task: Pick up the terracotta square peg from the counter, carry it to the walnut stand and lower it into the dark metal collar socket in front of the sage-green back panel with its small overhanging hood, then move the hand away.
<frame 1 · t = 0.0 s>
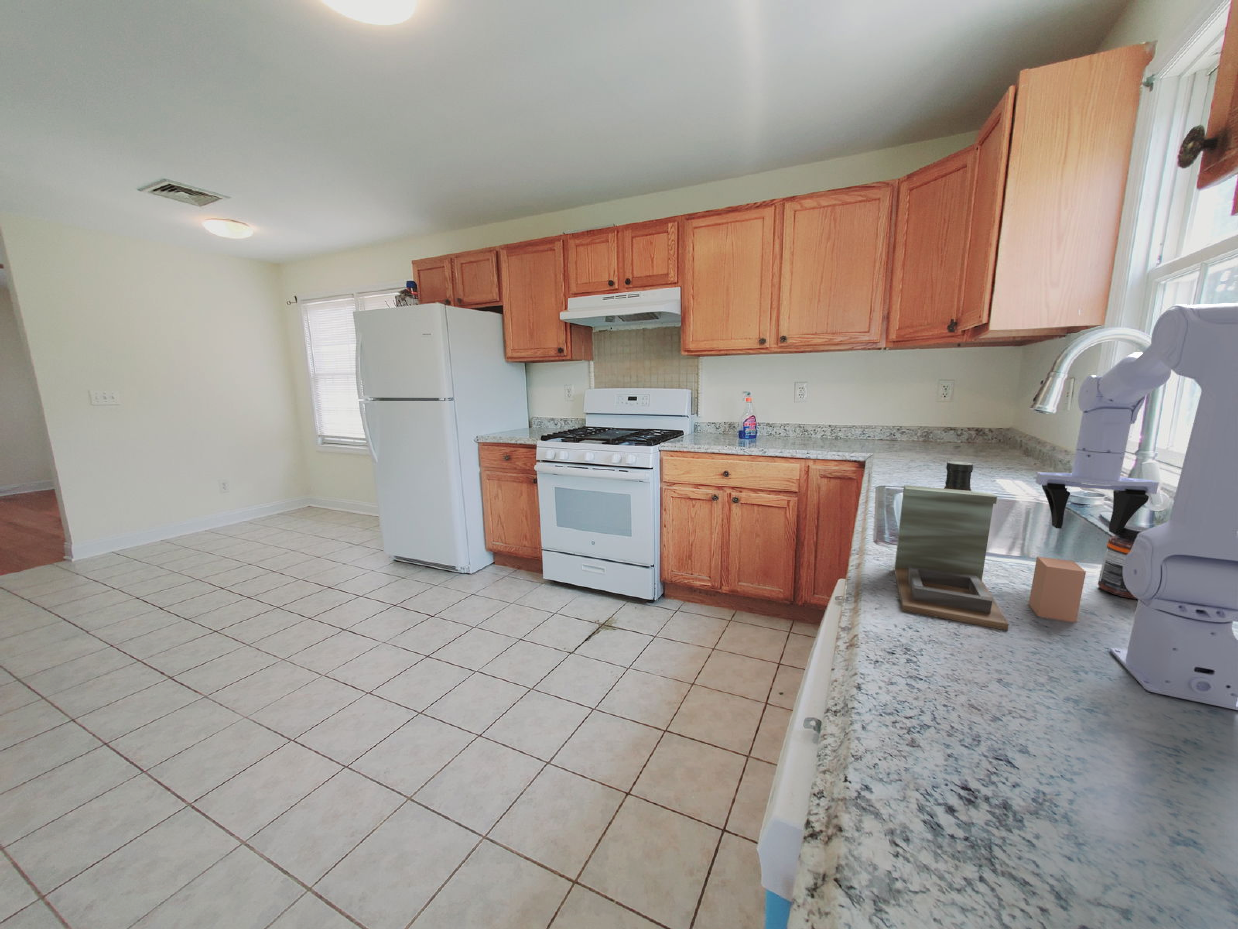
hand: (1084, 530, 81), 10 cm above the countertop, tool pointing down, fingers open, 7 cm apart
socket stand: (944, 599, 77), on the countertop
supplement bottle: (1120, 593, 80), on the countertop, touching gripper
peg: (1051, 613, 73), on the countertop
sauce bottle: (947, 565, 92), on the countertop
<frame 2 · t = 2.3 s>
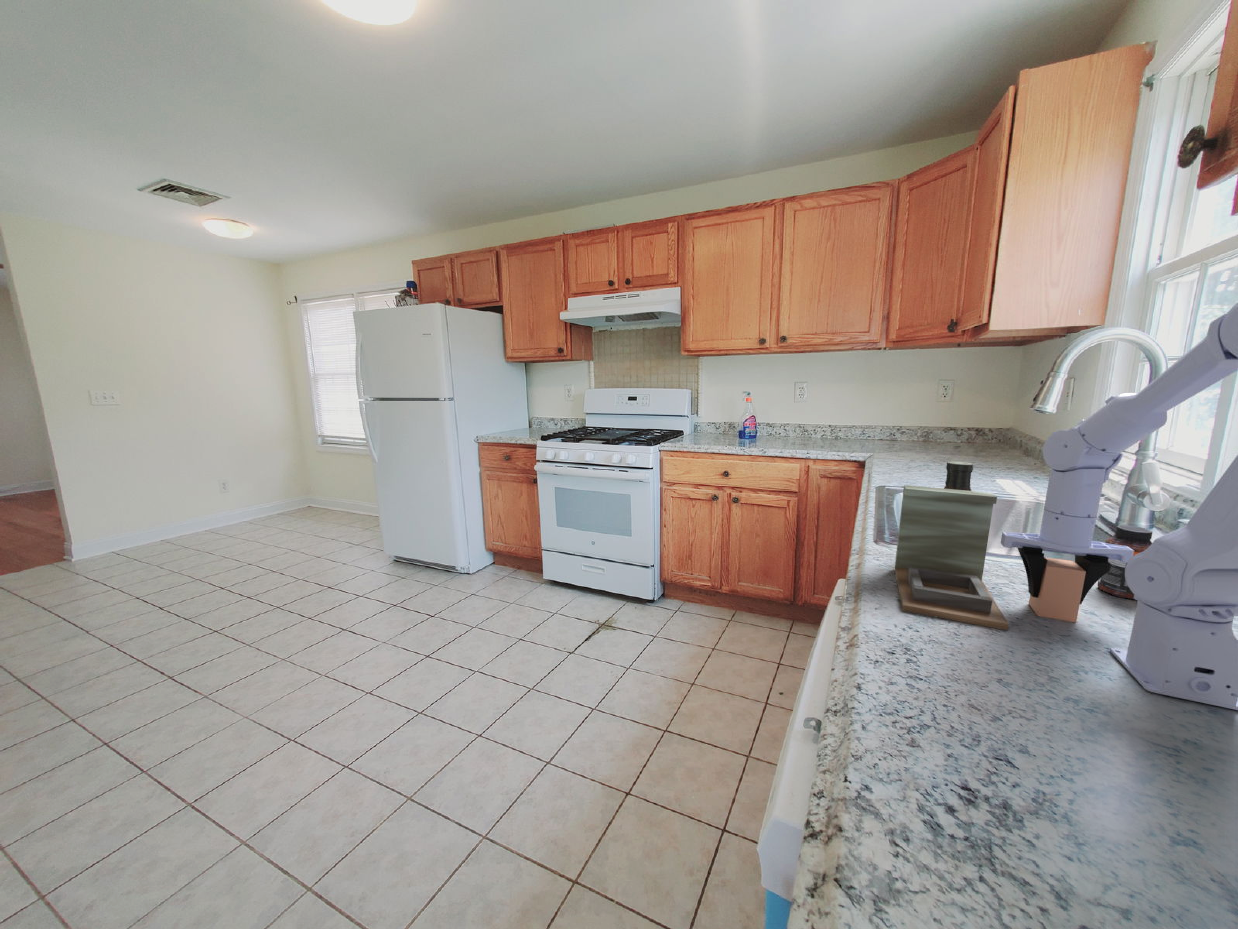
hand: (1054, 598, 73), 2 cm above the countertop, tool pointing down, fingers closed on peg, 4 cm apart
supplement bottle: (1120, 594, 80), on the countertop
peg: (1051, 612, 73), on the countertop, touching gripper
everything else where it was.
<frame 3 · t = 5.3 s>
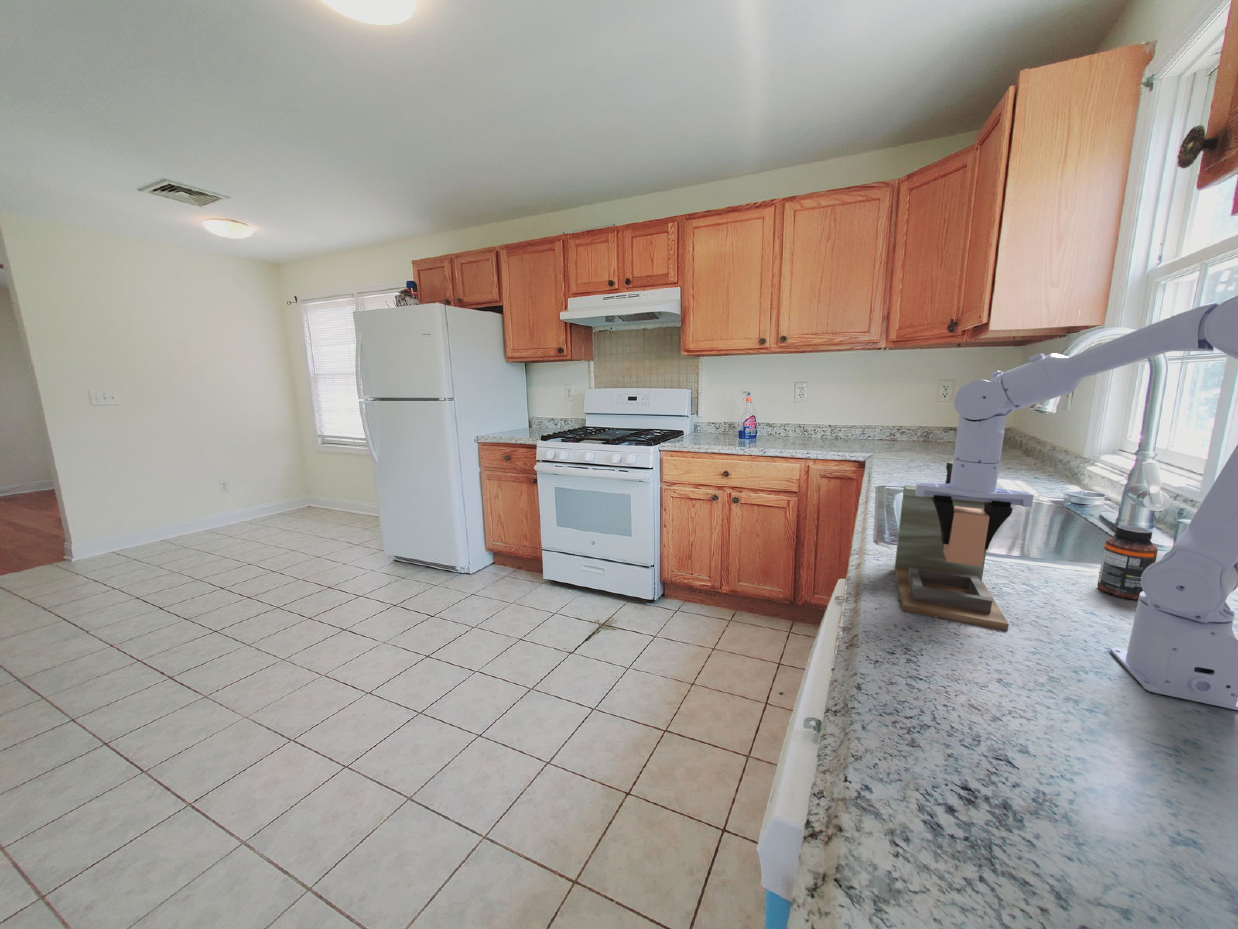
hand: (963, 545, 75), 9 cm above the countertop, tool pointing down, fingers closed on peg, 4 cm apart
peg: (961, 559, 76), point 7 cm above the countertop, touching gripper
everything else where it was.
when the fingers open (4 cm above the countertop, at t = 8.5 s): peg stays where it is, resting on socket stand.
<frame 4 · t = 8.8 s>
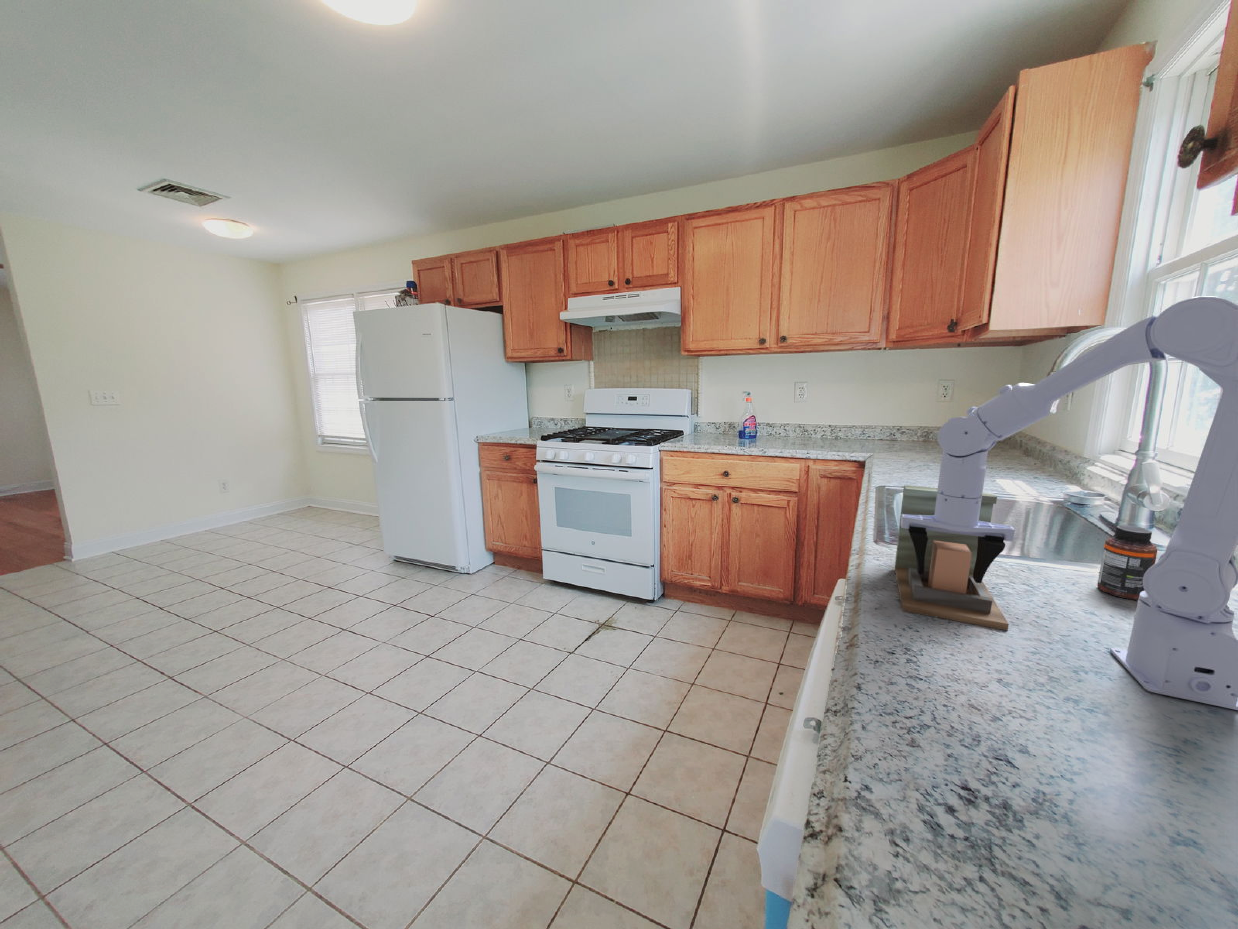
hand: (947, 576, 77), 4 cm above the countertop, tool pointing down, fingers open, 7 cm apart
peg: (945, 593, 77), point 1 cm above the countertop, touching socket stand
everything else where it was.
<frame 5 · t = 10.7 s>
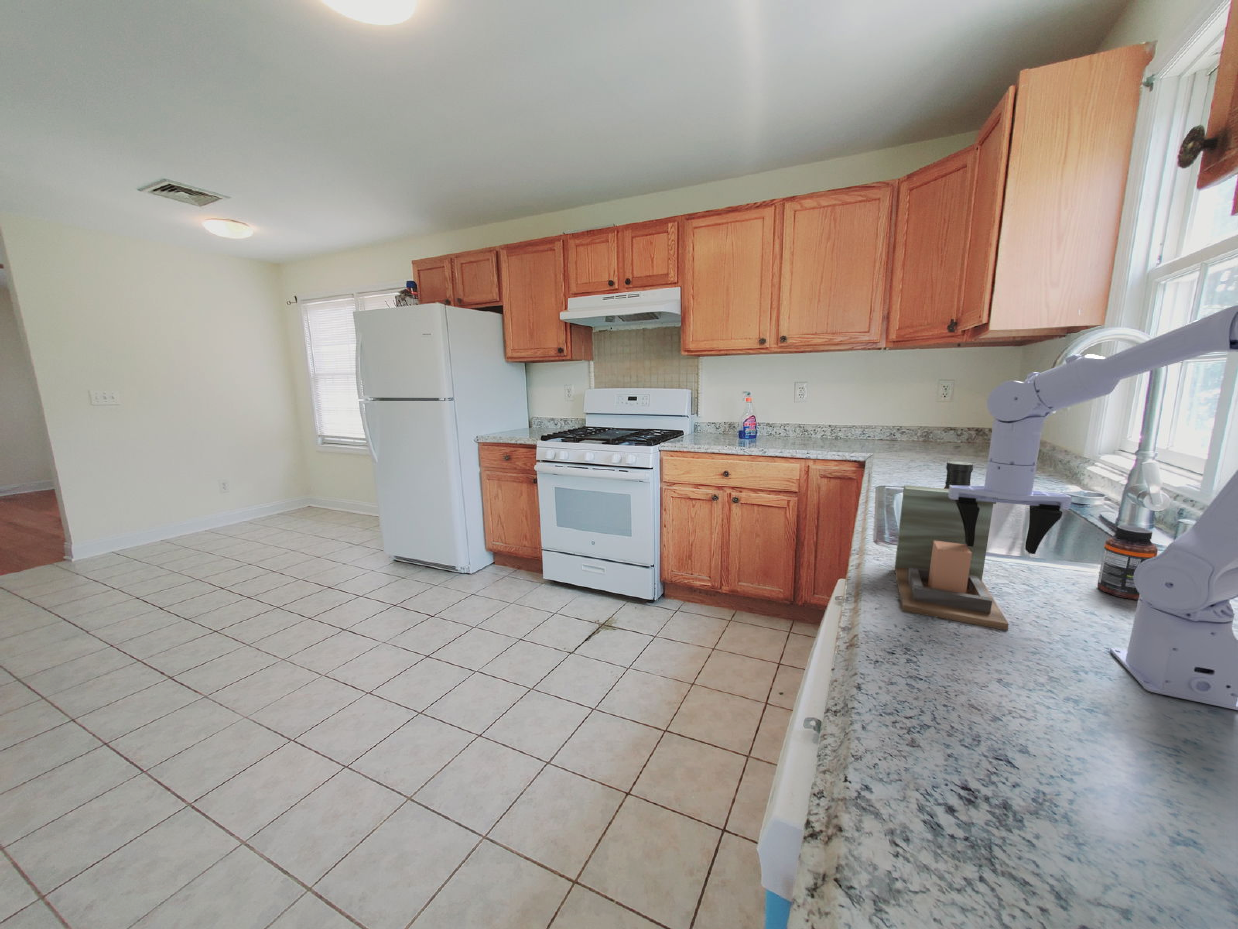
hand: (998, 548, 74), 9 cm above the countertop, tool pointing down, fingers open, 7 cm apart
nothing on the countertop moved.
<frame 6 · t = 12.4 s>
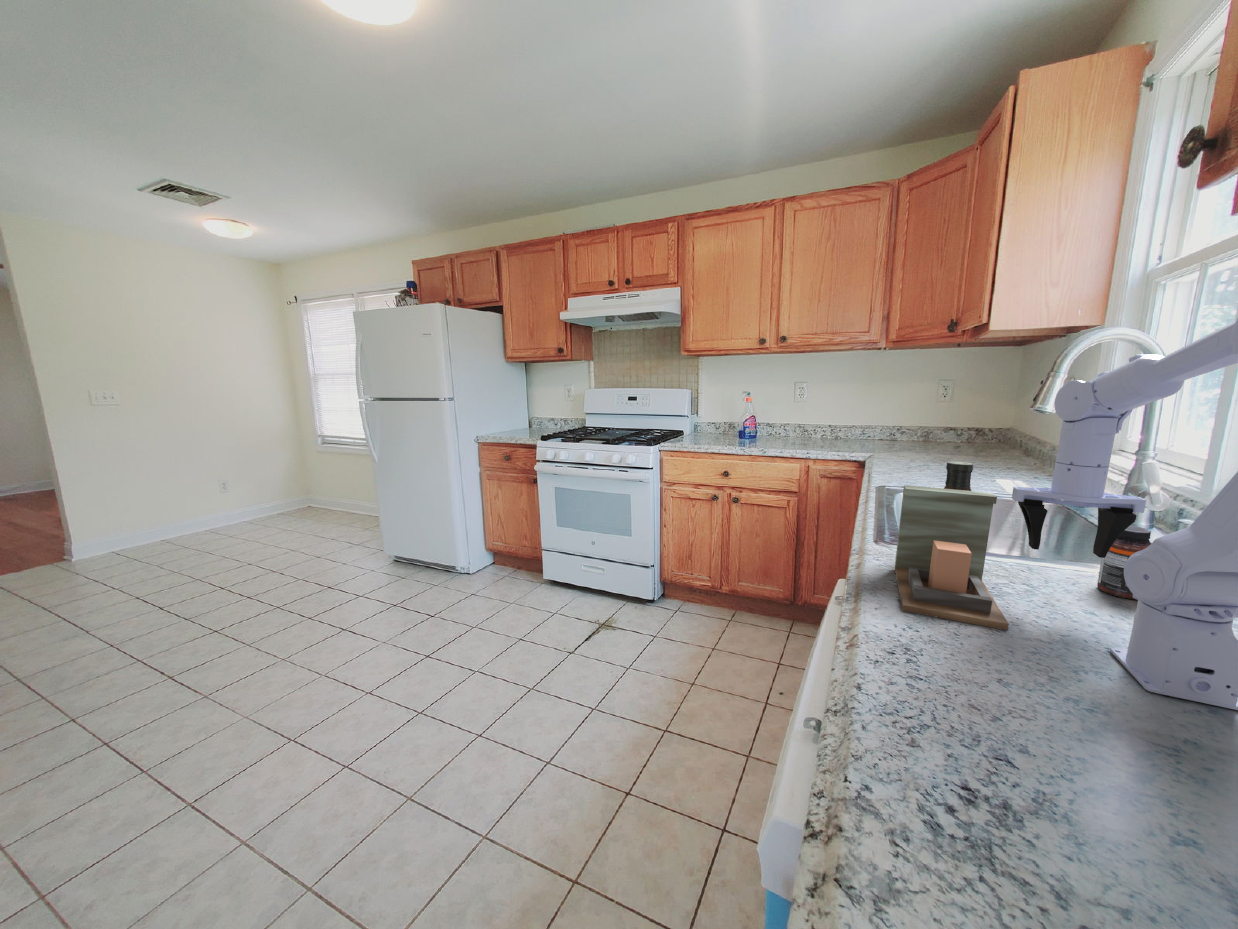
hand: (1065, 551, 73), 9 cm above the countertop, tool pointing down, fingers open, 7 cm apart
nothing on the countertop moved.
at the end: peg 0.1 cm off-centre on the socket stand, point 1.0 cm above the socket stand's base; peg tilted 0°; the gripper is holding nothing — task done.
